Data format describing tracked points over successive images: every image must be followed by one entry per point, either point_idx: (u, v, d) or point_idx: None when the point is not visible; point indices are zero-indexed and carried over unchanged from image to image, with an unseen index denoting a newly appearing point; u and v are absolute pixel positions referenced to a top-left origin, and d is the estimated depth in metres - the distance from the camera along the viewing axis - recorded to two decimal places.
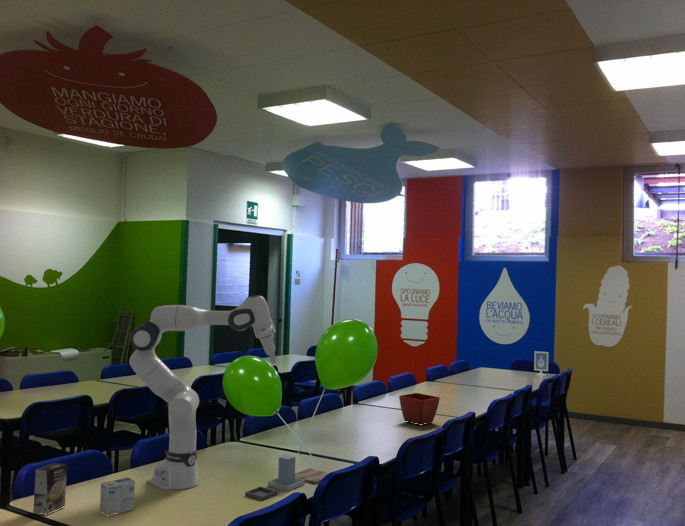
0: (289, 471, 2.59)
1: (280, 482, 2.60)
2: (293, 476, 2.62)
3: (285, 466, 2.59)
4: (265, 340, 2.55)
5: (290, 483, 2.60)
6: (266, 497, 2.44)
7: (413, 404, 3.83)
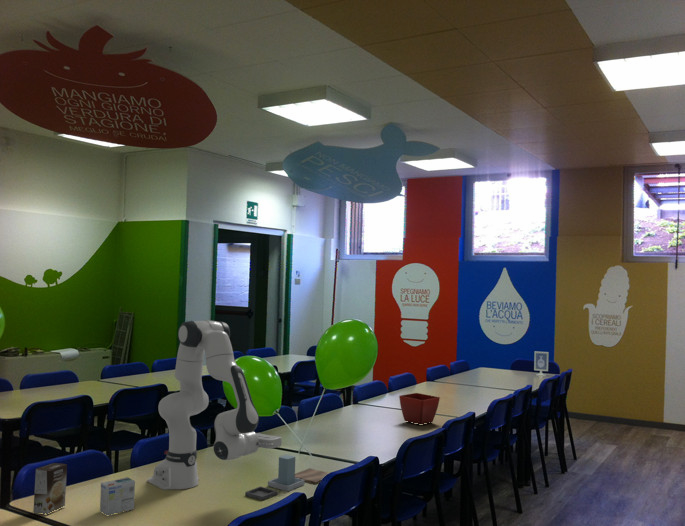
0: (289, 471, 2.59)
1: (280, 482, 2.60)
2: (293, 476, 2.62)
3: (285, 466, 2.59)
4: None
5: (290, 483, 2.60)
6: (266, 497, 2.44)
7: (413, 404, 3.83)
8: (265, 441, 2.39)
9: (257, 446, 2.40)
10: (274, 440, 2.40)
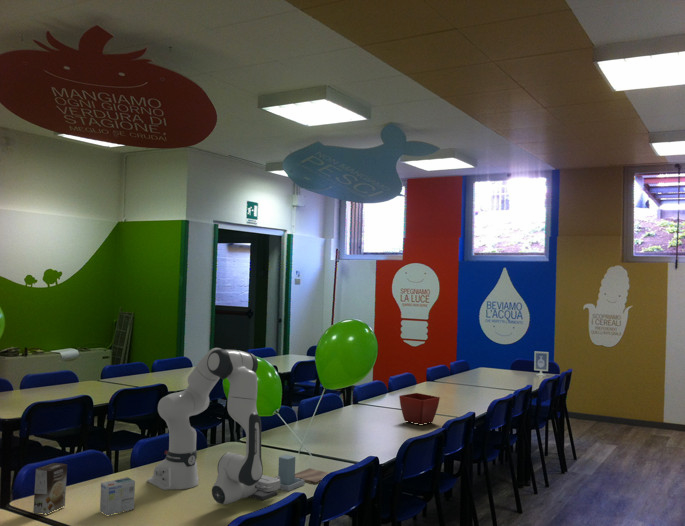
0: (289, 471, 2.59)
1: (280, 482, 2.60)
2: (293, 476, 2.62)
3: (285, 466, 2.59)
4: None
5: (290, 483, 2.60)
6: (266, 497, 2.44)
7: (413, 404, 3.83)
8: (263, 484, 2.39)
9: (255, 489, 2.39)
10: (273, 483, 2.39)
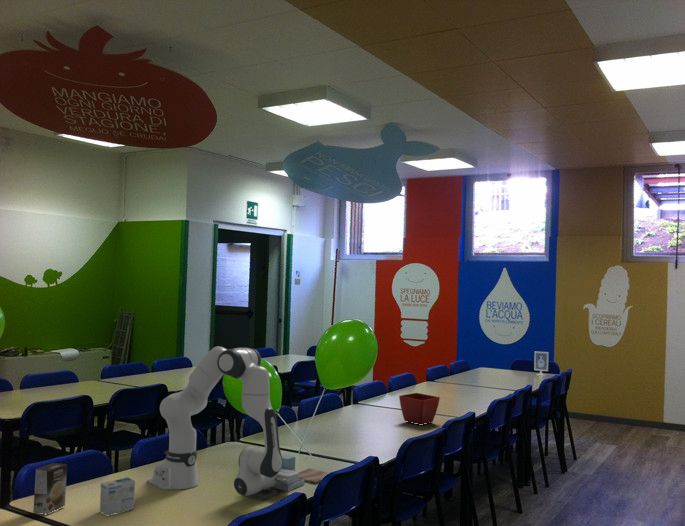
0: None
1: None
2: None
3: (285, 466, 2.59)
4: None
5: None
6: (266, 497, 2.44)
7: (413, 404, 3.83)
8: (283, 477, 2.48)
9: (275, 481, 2.49)
10: (292, 476, 2.49)
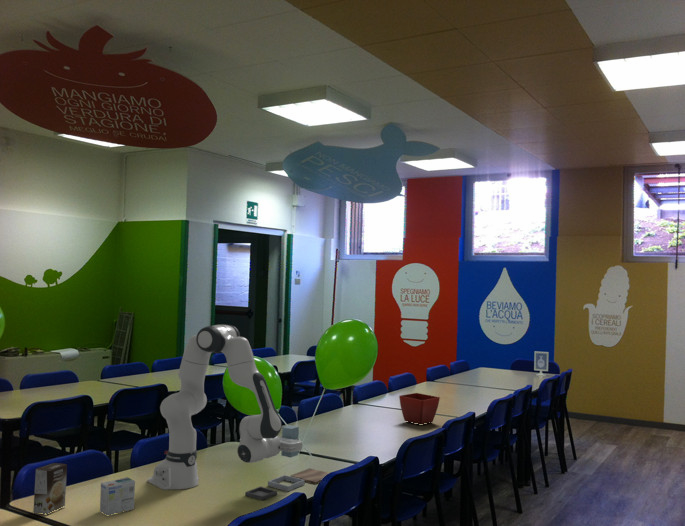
0: None
1: (283, 452, 2.61)
2: None
3: (289, 435, 2.60)
4: None
5: (293, 453, 2.61)
6: (266, 497, 2.44)
7: (413, 404, 3.83)
8: (286, 445, 2.50)
9: (279, 449, 2.50)
10: (295, 444, 2.51)
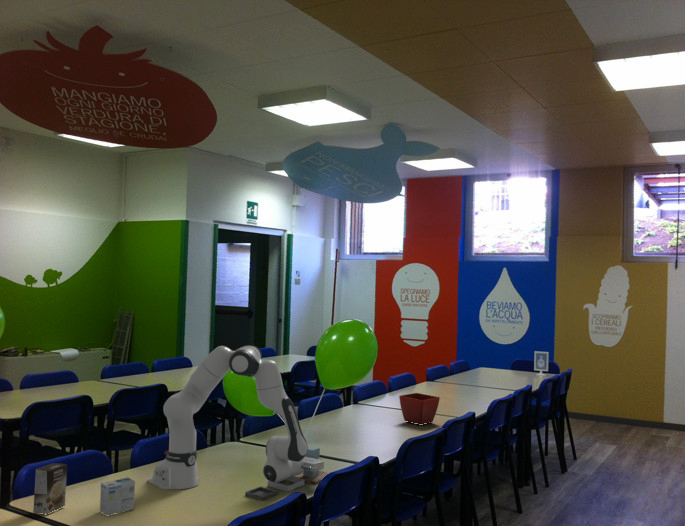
0: None
1: (305, 472, 2.71)
2: None
3: (310, 456, 2.70)
4: None
5: (315, 473, 2.71)
6: (266, 497, 2.44)
7: (413, 404, 3.83)
8: (309, 464, 2.60)
9: (302, 469, 2.60)
10: (317, 464, 2.61)
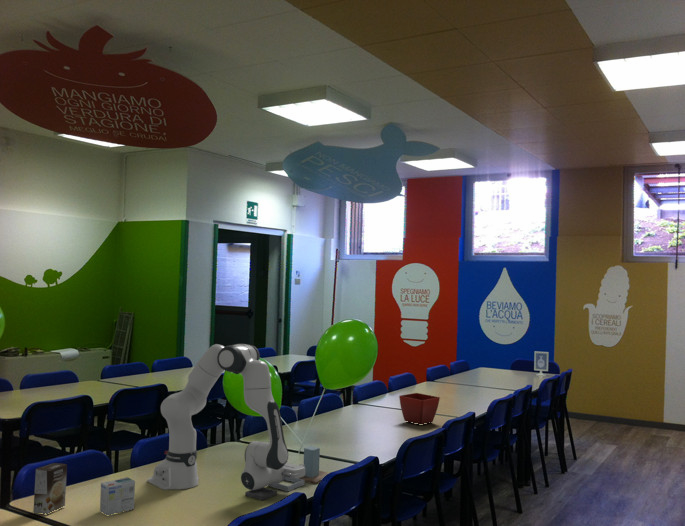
0: (314, 462, 2.71)
1: (305, 472, 2.71)
2: (318, 466, 2.73)
3: (310, 456, 2.70)
4: None
5: (315, 473, 2.71)
6: (266, 497, 2.44)
7: (413, 404, 3.83)
8: (290, 471, 2.49)
9: (282, 476, 2.50)
10: (298, 470, 2.50)
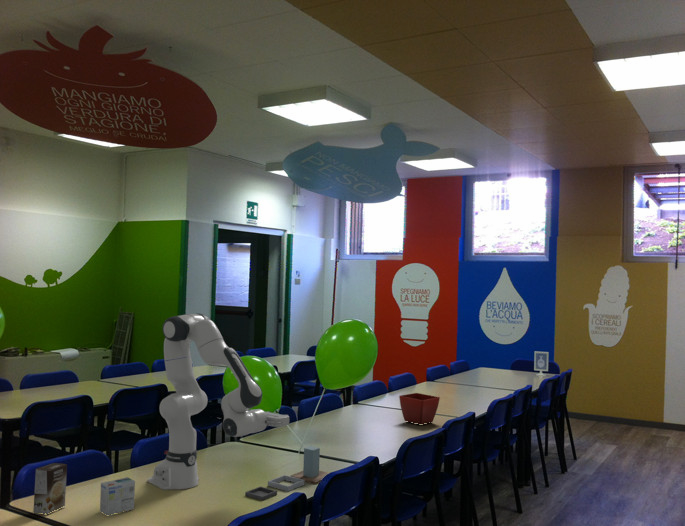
0: (314, 462, 2.71)
1: (305, 472, 2.71)
2: (318, 466, 2.73)
3: (310, 456, 2.70)
4: None
5: (315, 473, 2.71)
6: (266, 497, 2.44)
7: (413, 404, 3.83)
8: (273, 419, 2.46)
9: (265, 424, 2.47)
10: (282, 419, 2.47)
